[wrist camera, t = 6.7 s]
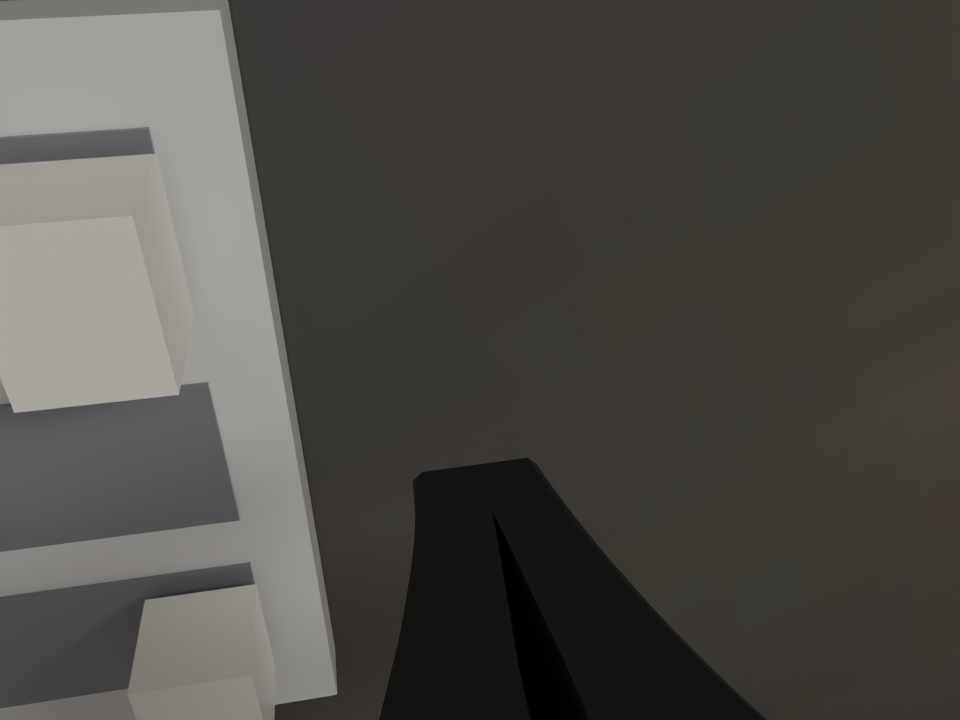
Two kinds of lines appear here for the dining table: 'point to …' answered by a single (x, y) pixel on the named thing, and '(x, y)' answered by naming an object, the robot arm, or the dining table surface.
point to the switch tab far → (203, 658)
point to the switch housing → (161, 420)
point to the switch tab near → (89, 284)
